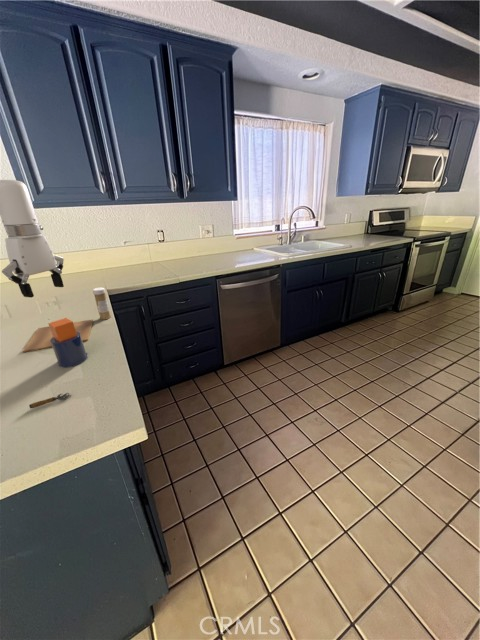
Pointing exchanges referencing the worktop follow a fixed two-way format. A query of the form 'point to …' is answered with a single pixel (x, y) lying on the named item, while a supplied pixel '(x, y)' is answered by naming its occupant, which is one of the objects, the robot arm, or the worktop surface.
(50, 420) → the worktop surface
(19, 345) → the worktop surface
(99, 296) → the sprinkles bottle
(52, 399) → the fork
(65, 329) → the orange block
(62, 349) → the navy cup
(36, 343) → the wooden cutting board
